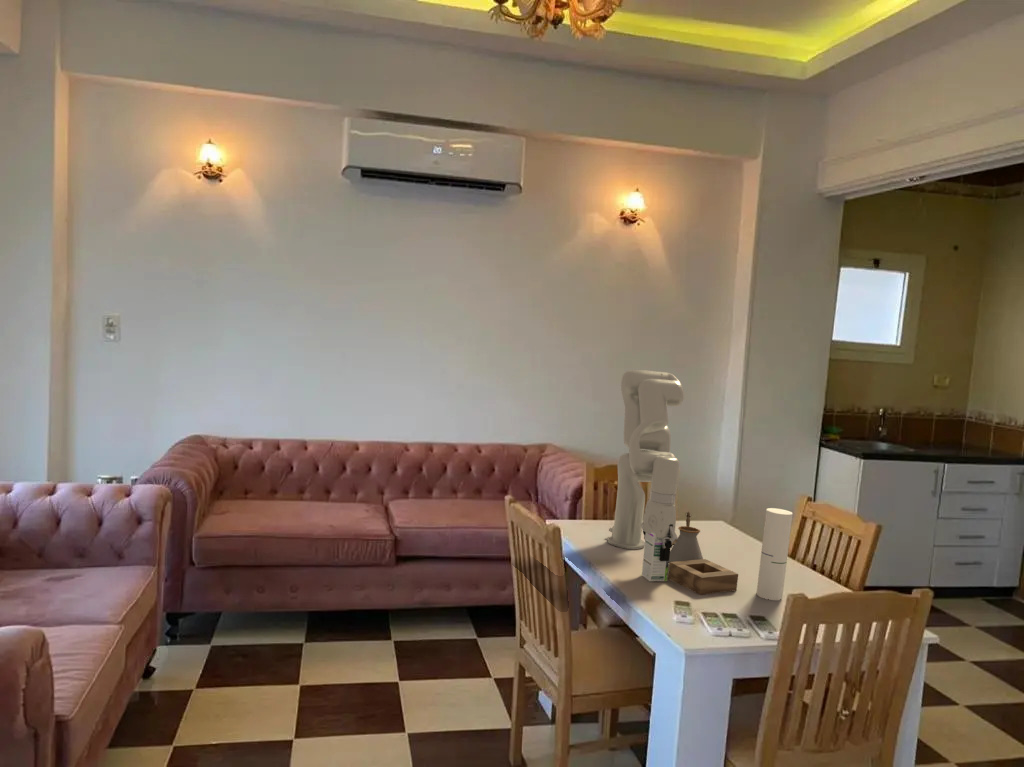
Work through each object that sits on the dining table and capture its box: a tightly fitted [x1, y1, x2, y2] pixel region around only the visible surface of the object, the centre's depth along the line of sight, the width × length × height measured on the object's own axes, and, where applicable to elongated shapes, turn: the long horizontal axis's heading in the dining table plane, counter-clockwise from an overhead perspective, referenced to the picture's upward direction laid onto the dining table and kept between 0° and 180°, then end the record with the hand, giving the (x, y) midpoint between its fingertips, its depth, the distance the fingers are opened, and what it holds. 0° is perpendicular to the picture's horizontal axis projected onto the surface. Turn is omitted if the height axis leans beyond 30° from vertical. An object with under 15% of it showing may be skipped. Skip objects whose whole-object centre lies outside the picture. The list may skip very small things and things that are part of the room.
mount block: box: [667, 558, 739, 596], centre depth 224 cm, size 14×14×5 cm
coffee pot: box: [669, 511, 704, 564], centre depth 242 cm, size 21×12×15 cm, turn 168°
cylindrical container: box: [756, 507, 794, 601], centre depth 218 cm, size 7×7×25 cm
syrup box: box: [641, 532, 669, 582], centre depth 225 cm, size 6×6×14 cm
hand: (656, 556), depth 225 cm, fingers closed on syrup box, 6 cm apart
